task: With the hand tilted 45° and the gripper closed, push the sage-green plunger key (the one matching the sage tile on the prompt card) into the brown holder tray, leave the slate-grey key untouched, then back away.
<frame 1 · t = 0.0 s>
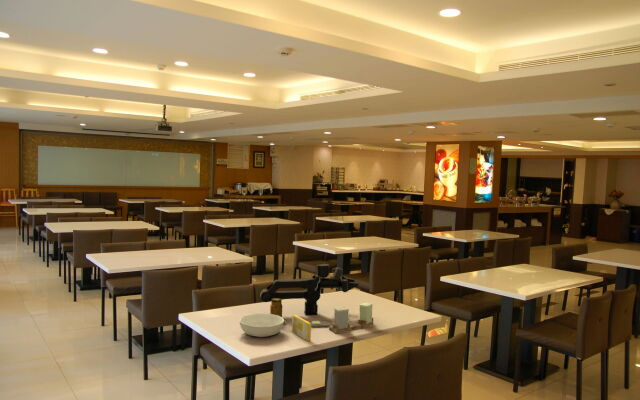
hand: (356, 282, 268), 17 cm above the table, tool horizontal, fingers open, 9 cm apart
candy box: (300, 336, 228), on the table
sage key: (365, 313, 245), point 6 cm above the table, slide at 0.0 cm
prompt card: (318, 325, 244), on the table
serving bowl: (261, 334, 230), on the table
slate key: (341, 318, 235), point 6 cm above the table, slide at 0.0 cm
brown holder tray: (353, 328, 240), on the table
condiment: (277, 322, 248), on the table
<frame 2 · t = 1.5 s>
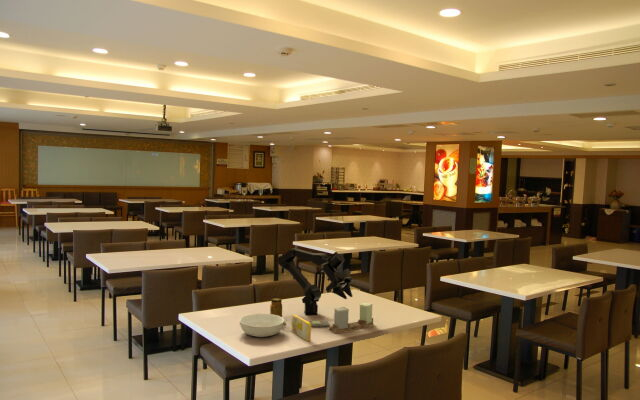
hand: (349, 297, 250), 13 cm above the table, tool tilted 45°, fingers open, 5 cm apart
nothing on the table moved.
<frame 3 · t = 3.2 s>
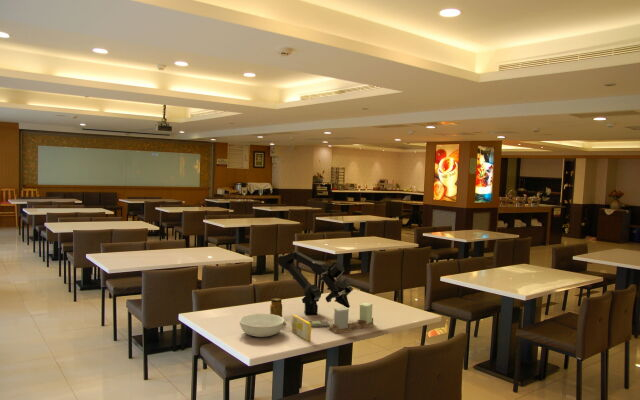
hand: (349, 307, 250), 8 cm above the table, tool tilted 45°, fingers closed
nothing on the table moved.
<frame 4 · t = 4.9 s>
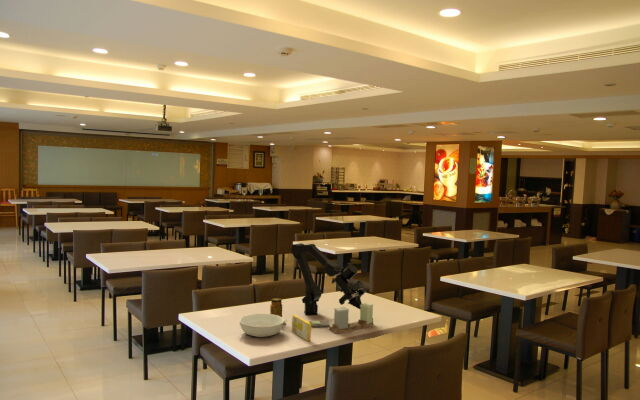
hand: (362, 309, 246), 8 cm above the table, tool tilted 45°, fingers closed, pressing on sage key
sage key: (366, 313, 244), point 6 cm above the table, slide at 0.3 cm, touching gripper
everything else where it was.
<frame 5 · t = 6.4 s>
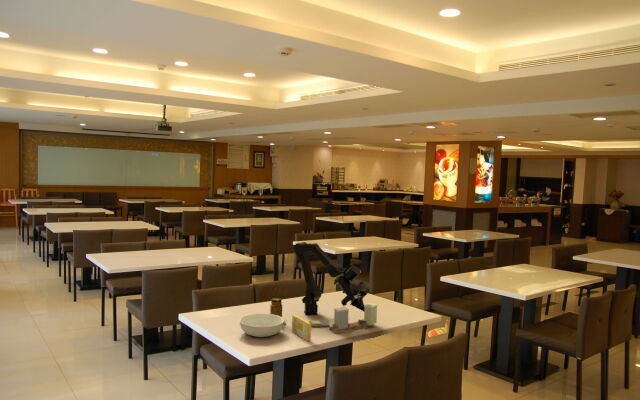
hand: (364, 311, 245), 7 cm above the table, tool tilted 45°, fingers closed
sage key: (370, 314, 243), point 6 cm above the table, slide at 2.7 cm
everything else where it was.
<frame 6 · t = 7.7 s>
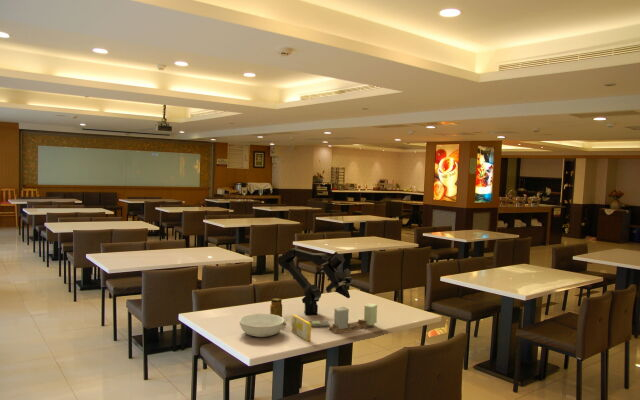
hand: (349, 297, 250), 13 cm above the table, tool tilted 45°, fingers closed
nothing on the table moved.
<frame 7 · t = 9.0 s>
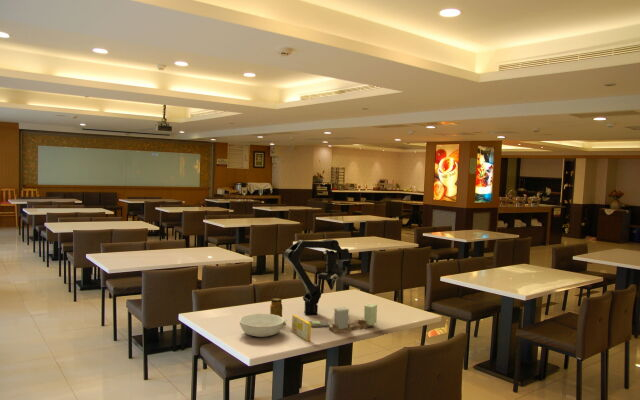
hand: (331, 289, 270), 12 cm above the table, tool pointing down, fingers closed
nothing on the table moved.
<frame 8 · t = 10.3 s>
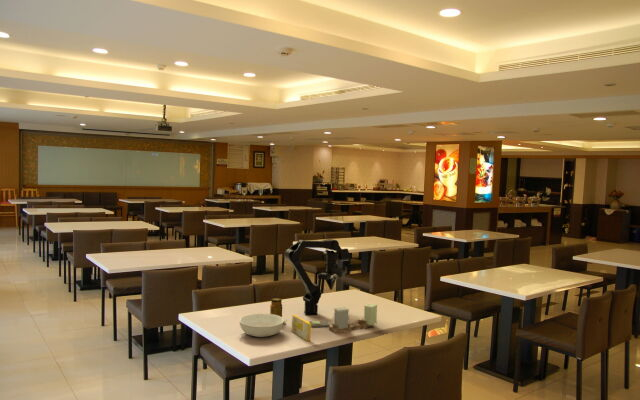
hand: (331, 289, 270), 12 cm above the table, tool pointing down, fingers closed
nothing on the table moved.
at the end: sage key slide at 2.7 cm; slate key slide at 0.0 cm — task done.
